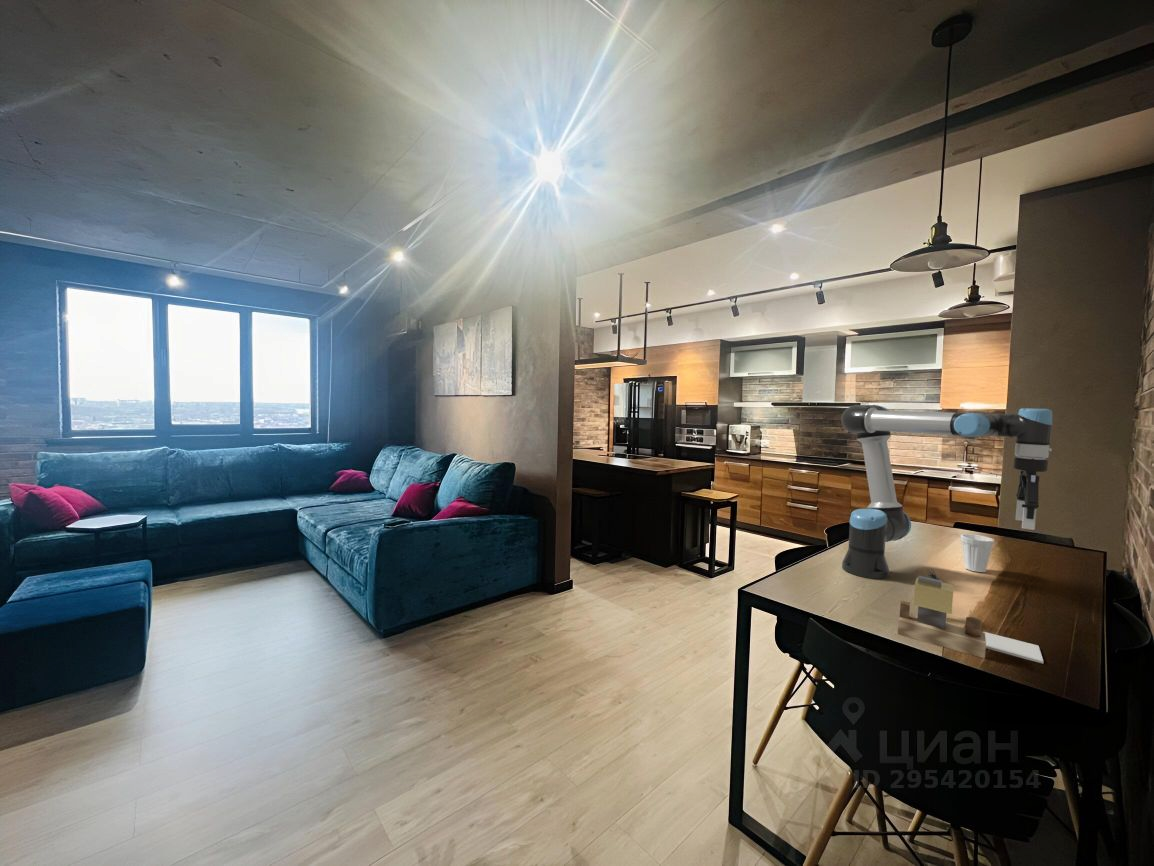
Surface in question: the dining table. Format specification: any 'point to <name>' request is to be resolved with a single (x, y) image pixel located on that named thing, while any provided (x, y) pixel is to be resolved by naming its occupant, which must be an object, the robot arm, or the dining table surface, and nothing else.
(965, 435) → the robot arm
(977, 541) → the cup
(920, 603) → the beige box
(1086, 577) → the dining table surface
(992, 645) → the mat
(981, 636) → the plane body
